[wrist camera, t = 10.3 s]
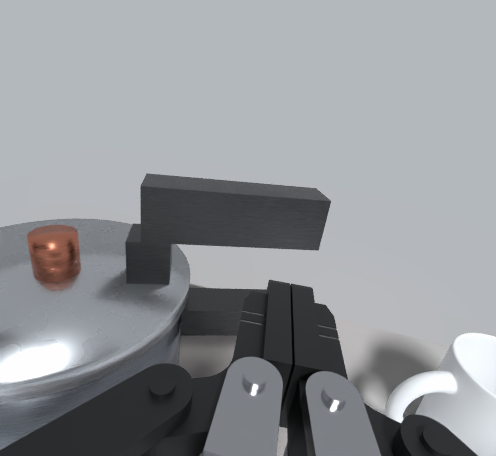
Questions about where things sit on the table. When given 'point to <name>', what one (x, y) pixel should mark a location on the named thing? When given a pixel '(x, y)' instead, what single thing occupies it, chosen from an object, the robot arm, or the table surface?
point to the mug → (457, 392)
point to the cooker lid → (127, 275)
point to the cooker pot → (165, 351)
